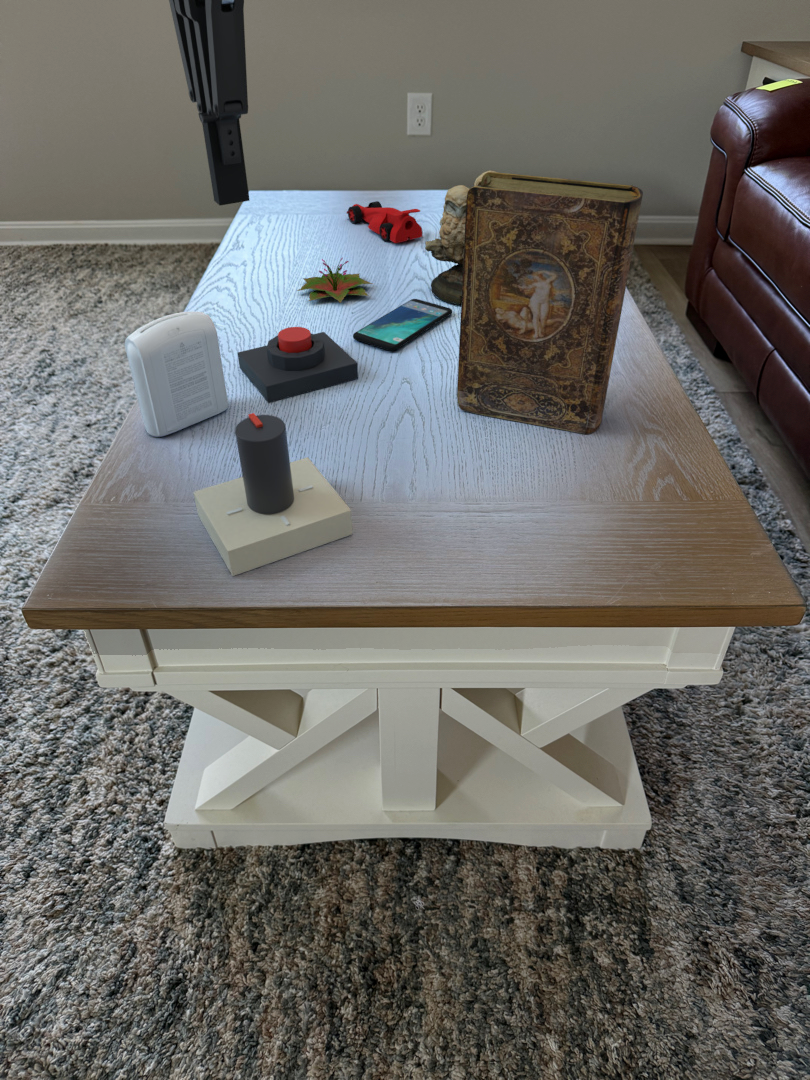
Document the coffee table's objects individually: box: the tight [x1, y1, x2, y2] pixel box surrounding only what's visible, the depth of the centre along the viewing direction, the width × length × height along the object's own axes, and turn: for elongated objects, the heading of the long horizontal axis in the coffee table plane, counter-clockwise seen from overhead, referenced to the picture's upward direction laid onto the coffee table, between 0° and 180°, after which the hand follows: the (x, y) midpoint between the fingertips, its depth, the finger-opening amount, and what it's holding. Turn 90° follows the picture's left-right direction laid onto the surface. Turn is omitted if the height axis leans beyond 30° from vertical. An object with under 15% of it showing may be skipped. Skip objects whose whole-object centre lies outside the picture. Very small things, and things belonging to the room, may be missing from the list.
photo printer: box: [124, 310, 229, 438], centre depth 87 cm, size 10×4×12 cm, turn 134°
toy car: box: [346, 200, 423, 244], centre depth 138 cm, size 6×18×5 cm, turn 33°
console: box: [192, 456, 353, 577], centre depth 75 cm, size 12×10×3 cm
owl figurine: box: [424, 169, 496, 306], centre depth 112 cm, size 18×12×17 cm, turn 82°
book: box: [456, 171, 644, 435], centre depth 84 cm, size 16×6×25 cm, turn 70°
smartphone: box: [352, 298, 453, 352], centre depth 109 cm, size 7×1×15 cm
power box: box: [236, 331, 359, 403], centre depth 98 cm, size 12×10×4 cm
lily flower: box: [296, 257, 374, 304], centre depth 117 cm, size 12×12×5 cm
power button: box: [277, 326, 312, 353], centre depth 96 cm, size 4×4×2 cm
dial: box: [234, 412, 294, 514], centre depth 71 cm, size 4×4×8 cm
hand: (231, 200), depth 68 cm, fingers closed
